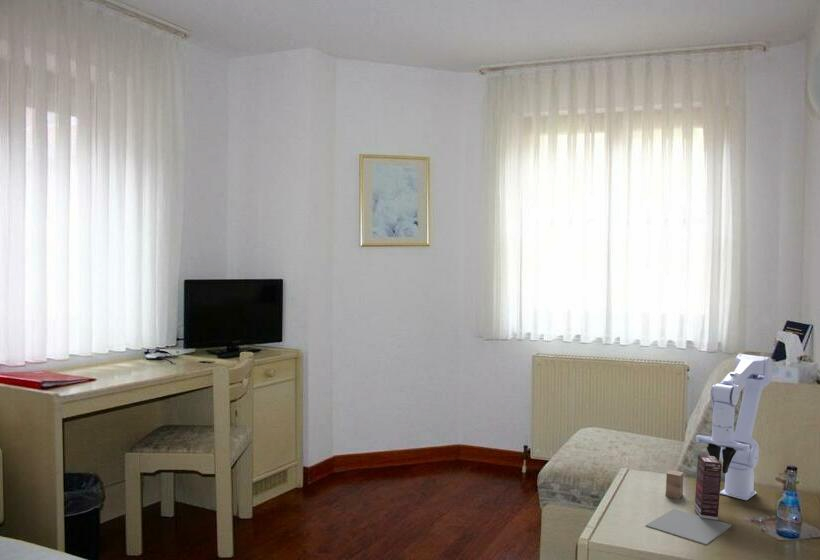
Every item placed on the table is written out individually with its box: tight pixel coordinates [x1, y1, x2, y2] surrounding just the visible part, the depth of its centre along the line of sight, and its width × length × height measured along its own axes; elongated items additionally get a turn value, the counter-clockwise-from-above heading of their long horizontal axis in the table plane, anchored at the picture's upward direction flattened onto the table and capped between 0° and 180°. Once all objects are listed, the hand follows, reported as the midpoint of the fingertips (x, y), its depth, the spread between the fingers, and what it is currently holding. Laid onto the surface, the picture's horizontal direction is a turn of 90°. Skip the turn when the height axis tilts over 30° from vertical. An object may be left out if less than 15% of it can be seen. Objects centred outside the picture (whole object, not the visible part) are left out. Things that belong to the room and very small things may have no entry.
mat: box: [645, 508, 733, 546], centre depth 184 cm, size 18×16×1 cm
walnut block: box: [665, 469, 684, 500], centre depth 208 cm, size 4×4×7 cm
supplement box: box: [694, 454, 723, 521], centre depth 192 cm, size 9×5×16 cm, turn 169°
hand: (720, 471), depth 199 cm, fingers closed
